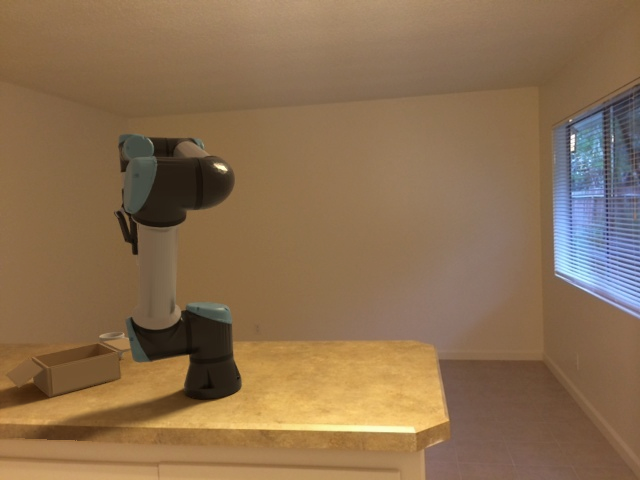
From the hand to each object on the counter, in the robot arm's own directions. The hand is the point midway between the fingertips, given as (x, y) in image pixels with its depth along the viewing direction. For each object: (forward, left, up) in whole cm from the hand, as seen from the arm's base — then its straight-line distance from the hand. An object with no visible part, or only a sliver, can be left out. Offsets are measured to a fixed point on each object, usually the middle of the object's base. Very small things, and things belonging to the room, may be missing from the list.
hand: (140, 265), depth 150 cm
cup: (+21, +1, -33) cm, 39 cm away
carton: (+7, +18, -32) cm, 38 cm away
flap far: (+7, +8, -24) cm, 27 cm away
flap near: (+7, +28, -24) cm, 38 cm away
